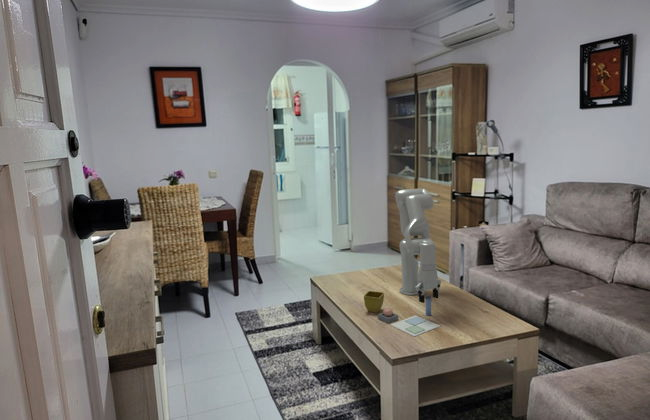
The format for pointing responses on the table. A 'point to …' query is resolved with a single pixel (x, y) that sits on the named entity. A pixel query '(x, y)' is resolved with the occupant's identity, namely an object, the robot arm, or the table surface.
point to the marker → (428, 305)
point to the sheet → (415, 325)
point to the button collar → (388, 319)
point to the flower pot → (373, 301)
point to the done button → (388, 312)
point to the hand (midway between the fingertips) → (428, 299)
